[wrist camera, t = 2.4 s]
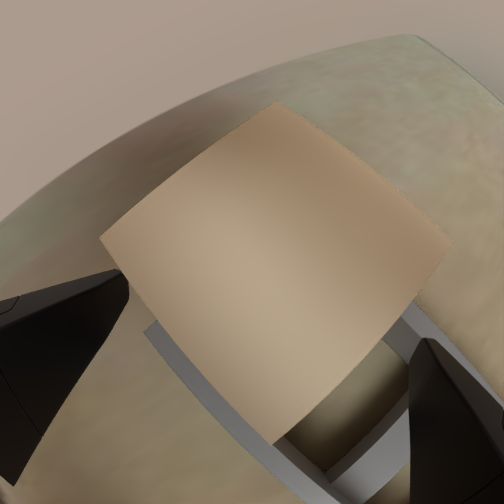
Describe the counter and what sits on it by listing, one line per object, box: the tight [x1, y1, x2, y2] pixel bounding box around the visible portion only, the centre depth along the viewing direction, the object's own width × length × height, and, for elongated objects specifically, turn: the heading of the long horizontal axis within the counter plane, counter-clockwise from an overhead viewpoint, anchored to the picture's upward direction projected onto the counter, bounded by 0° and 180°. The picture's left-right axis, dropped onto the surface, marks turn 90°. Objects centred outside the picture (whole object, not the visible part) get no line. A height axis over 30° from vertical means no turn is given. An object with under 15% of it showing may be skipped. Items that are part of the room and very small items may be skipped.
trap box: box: [143, 301, 504, 504], centre depth 12 cm, size 10×27×4 cm, turn 43°
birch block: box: [99, 101, 454, 446], centre depth 11 cm, size 5×5×11 cm
